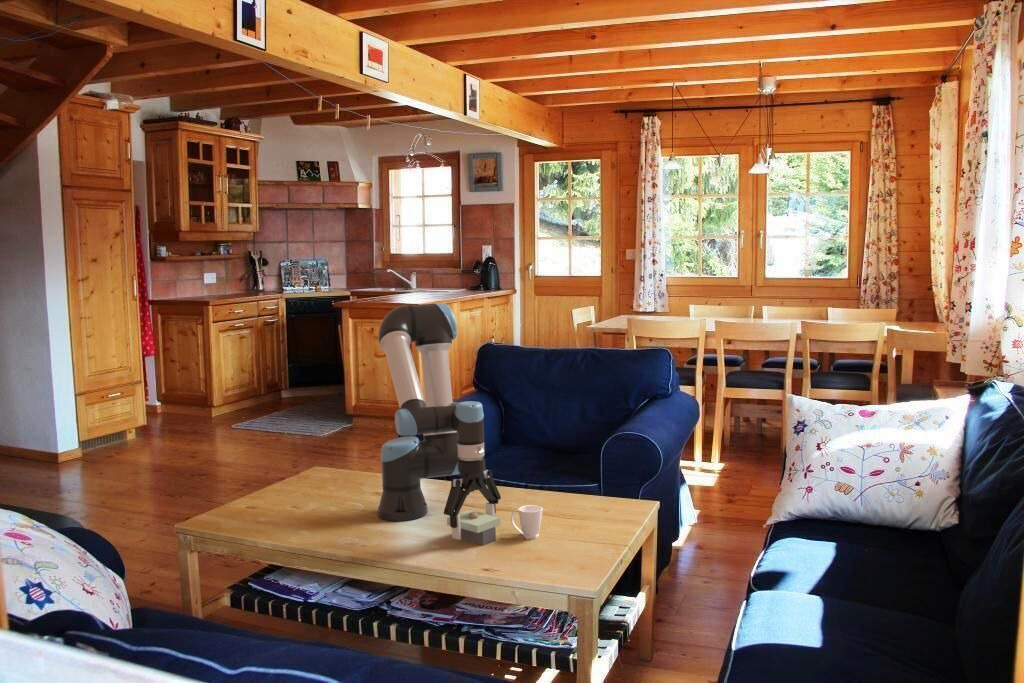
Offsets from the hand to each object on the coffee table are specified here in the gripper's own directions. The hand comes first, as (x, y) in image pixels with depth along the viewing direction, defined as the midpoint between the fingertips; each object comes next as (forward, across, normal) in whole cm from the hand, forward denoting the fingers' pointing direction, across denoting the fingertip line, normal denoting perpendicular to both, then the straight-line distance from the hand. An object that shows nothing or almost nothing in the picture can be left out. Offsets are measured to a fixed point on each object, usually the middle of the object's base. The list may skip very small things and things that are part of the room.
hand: (474, 532), depth 244 cm
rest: (+2, 0, 0) cm, 2 cm away
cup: (+2, +11, -10) cm, 15 cm away
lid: (-2, 0, 0) cm, 2 cm away
